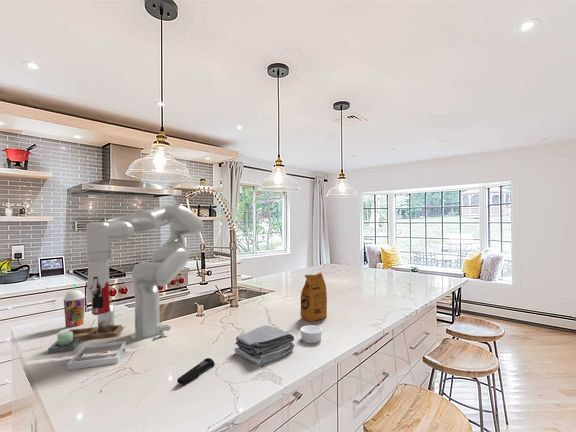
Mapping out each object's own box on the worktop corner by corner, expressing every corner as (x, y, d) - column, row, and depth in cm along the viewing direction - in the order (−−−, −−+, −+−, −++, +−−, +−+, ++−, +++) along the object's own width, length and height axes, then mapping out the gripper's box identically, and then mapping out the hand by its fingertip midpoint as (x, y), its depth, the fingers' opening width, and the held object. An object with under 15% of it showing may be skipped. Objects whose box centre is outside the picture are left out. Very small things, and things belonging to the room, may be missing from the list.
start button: (74, 340, 122) (74, 330, 122) (70, 345, 117) (70, 335, 117) (60, 342, 120) (60, 332, 120) (55, 347, 116) (55, 336, 116)
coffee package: (297, 317, 155) (297, 273, 155) (316, 313, 163) (316, 270, 163) (310, 323, 147) (310, 276, 147) (329, 317, 155) (329, 273, 155)
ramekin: (324, 336, 130) (324, 326, 131) (319, 345, 122) (319, 334, 122) (303, 334, 133) (303, 324, 133) (297, 342, 125) (297, 331, 125)
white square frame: (126, 346, 123) (126, 341, 123) (117, 363, 108) (117, 357, 108) (82, 351, 118) (82, 345, 118) (67, 369, 104) (67, 363, 104)
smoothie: (74, 330, 140) (74, 286, 140) (59, 329, 141) (58, 285, 141) (89, 324, 148) (89, 282, 148) (75, 323, 150) (74, 281, 150)
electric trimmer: (173, 387, 94) (173, 376, 93) (206, 363, 108) (206, 354, 108) (183, 390, 92) (183, 379, 92) (215, 366, 106) (215, 356, 106)
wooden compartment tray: (124, 329, 141) (124, 323, 141) (118, 339, 129) (118, 333, 129) (68, 334, 135) (68, 328, 135) (56, 346, 122) (56, 339, 122)
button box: (81, 345, 124) (81, 337, 124) (73, 353, 116) (73, 345, 116) (57, 348, 121) (57, 340, 121) (48, 356, 114) (48, 348, 114)
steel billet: (115, 329, 137) (115, 302, 137) (112, 334, 131) (112, 306, 131) (100, 331, 135) (100, 303, 135) (96, 336, 130) (95, 307, 130)
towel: (296, 351, 117) (295, 330, 117) (256, 368, 104) (256, 344, 105) (270, 340, 128) (270, 321, 128) (232, 353, 116) (232, 332, 116)
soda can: (112, 310, 117) (111, 278, 116) (104, 315, 111) (103, 282, 111) (97, 311, 117) (96, 279, 116) (88, 316, 111) (87, 282, 111)
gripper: (94, 253, 121) (96, 300, 121) (79, 260, 104) (80, 314, 105) (116, 252, 123) (117, 298, 123) (104, 258, 106) (106, 311, 107)
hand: (100, 304), depth 114 cm, fingers closed on soda can, 5 cm apart
